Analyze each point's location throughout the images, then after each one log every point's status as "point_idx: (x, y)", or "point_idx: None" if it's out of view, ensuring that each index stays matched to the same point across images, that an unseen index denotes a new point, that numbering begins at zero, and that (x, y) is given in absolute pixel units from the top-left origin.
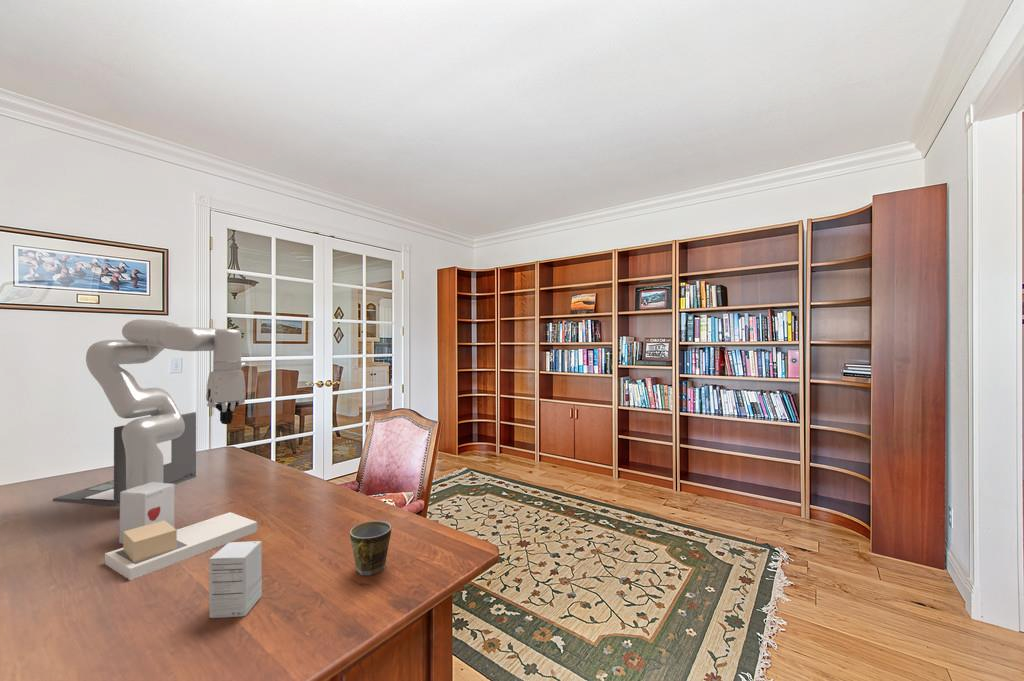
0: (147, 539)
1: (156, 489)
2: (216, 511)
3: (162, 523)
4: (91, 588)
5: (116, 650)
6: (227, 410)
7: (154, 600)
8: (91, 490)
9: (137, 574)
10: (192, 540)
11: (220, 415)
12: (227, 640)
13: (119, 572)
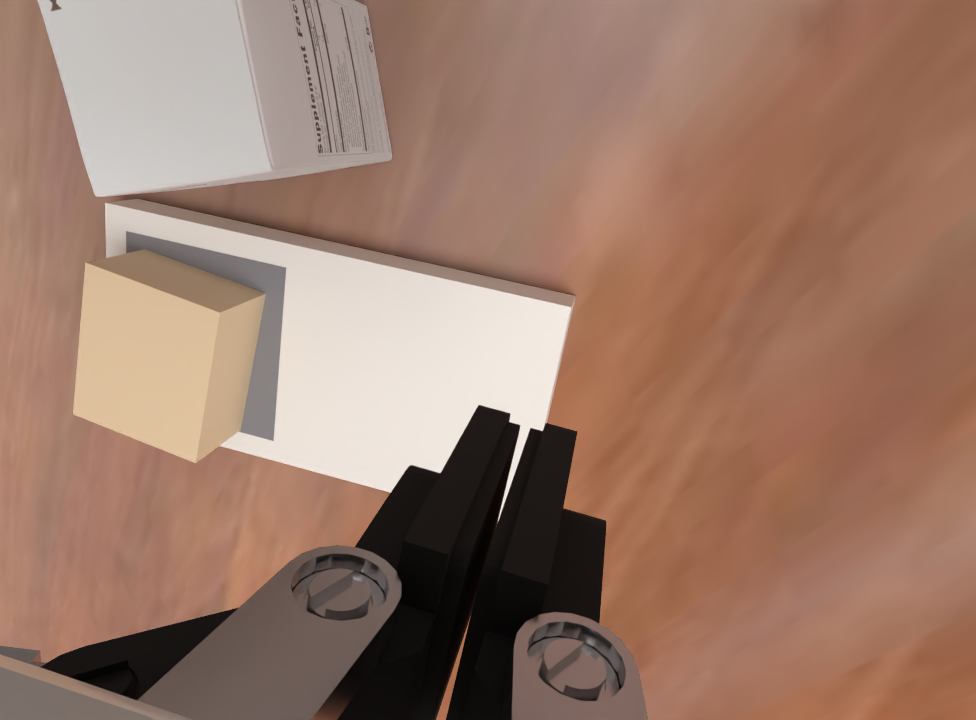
0: (112, 426)
1: (162, 175)
2: (665, 83)
3: (198, 342)
4: (70, 329)
5: (31, 635)
6: (467, 703)
7: (133, 553)
8: None
9: None
10: (304, 420)
11: (370, 536)
12: None
13: None
